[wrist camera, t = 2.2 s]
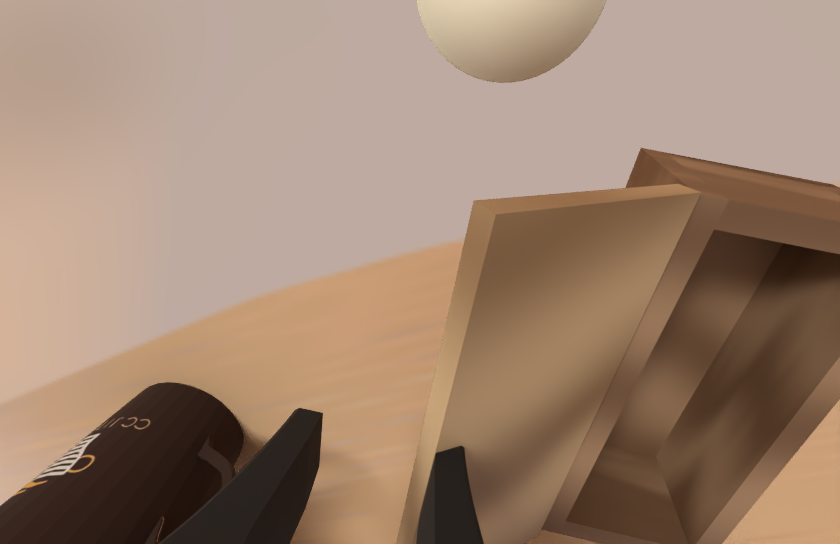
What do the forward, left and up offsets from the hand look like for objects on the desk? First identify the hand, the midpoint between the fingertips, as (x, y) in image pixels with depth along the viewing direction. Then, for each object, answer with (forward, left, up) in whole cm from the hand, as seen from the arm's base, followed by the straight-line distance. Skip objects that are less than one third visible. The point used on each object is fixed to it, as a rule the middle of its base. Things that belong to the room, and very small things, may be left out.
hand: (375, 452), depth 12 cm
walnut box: (0, -10, -9) cm, 13 cm away
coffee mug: (-12, +10, -9) cm, 18 cm away
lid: (0, -4, -2) cm, 4 cm away
